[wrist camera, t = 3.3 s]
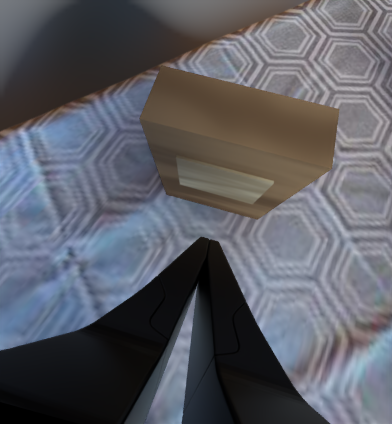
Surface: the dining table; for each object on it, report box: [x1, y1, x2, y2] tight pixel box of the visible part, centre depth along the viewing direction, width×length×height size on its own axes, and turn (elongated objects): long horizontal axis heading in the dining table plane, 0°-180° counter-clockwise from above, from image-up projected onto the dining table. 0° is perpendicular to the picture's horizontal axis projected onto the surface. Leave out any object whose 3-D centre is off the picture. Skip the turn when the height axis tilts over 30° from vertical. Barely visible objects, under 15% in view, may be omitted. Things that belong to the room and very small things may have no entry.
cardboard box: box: [139, 66, 339, 219], centre depth 18 cm, size 4×11×13 cm, turn 74°
